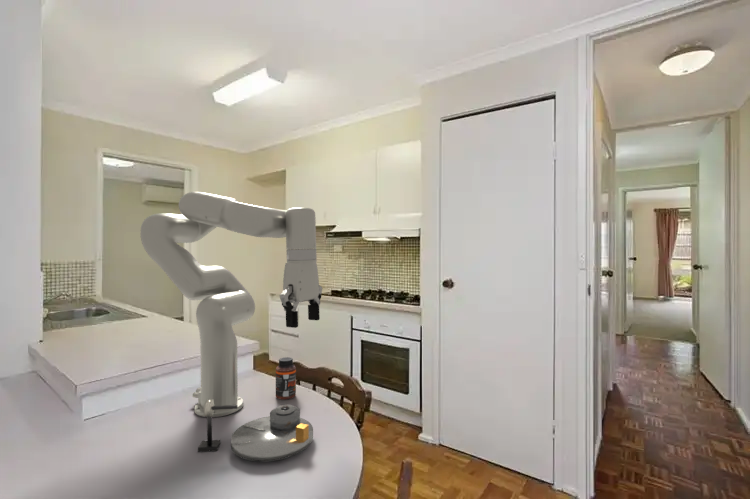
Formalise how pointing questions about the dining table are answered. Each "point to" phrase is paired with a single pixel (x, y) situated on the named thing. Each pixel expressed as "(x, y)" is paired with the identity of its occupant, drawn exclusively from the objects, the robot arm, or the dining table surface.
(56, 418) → the dining table surface
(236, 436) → the turntable
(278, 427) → the cover
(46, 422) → the dining table surface
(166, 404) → the dining table surface
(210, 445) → the stand
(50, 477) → the dining table surface
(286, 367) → the supplement bottle
